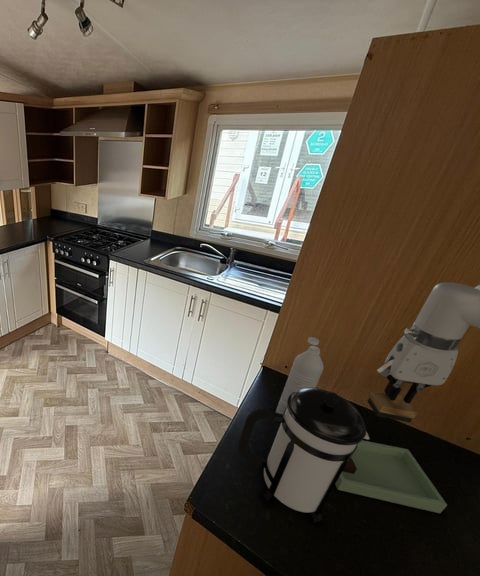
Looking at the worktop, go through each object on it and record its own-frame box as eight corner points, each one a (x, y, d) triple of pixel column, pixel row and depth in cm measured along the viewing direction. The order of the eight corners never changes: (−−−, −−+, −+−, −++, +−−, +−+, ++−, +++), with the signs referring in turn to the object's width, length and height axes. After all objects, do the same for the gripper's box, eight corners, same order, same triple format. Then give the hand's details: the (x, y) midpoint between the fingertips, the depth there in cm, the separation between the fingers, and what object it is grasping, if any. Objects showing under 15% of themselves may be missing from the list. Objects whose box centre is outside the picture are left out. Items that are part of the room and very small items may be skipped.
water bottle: (301, 430, 86) (331, 359, 75) (274, 421, 89) (300, 351, 78) (299, 408, 93) (328, 340, 82) (275, 400, 96) (299, 333, 85)
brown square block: (346, 459, 78) (349, 453, 77) (354, 474, 75) (357, 468, 74) (328, 455, 79) (331, 450, 78) (335, 469, 76) (338, 464, 75)
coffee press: (287, 450, 81) (325, 359, 68) (345, 516, 67) (407, 417, 54) (229, 466, 77) (257, 372, 64) (277, 539, 63) (326, 438, 50)
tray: (402, 457, 79) (408, 449, 78) (440, 513, 68) (447, 505, 66) (316, 439, 84) (320, 431, 82) (337, 489, 72) (342, 481, 71)
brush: (399, 407, 81) (418, 376, 76) (410, 423, 76) (432, 391, 72) (366, 400, 83) (383, 370, 78) (376, 416, 78) (394, 384, 73)
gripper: (400, 340, 68) (366, 402, 76) (492, 353, 64) (446, 416, 72) (381, 322, 74) (352, 381, 82) (464, 333, 71) (425, 393, 79)
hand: (396, 397), depth 77 cm, fingers closed on brush, 2 cm apart
